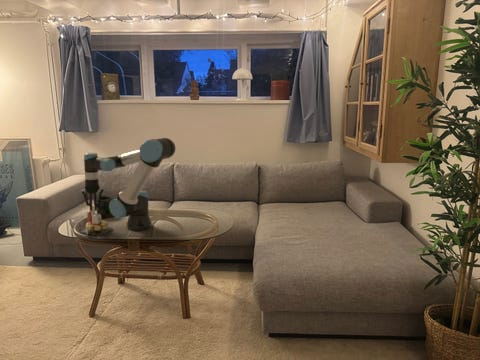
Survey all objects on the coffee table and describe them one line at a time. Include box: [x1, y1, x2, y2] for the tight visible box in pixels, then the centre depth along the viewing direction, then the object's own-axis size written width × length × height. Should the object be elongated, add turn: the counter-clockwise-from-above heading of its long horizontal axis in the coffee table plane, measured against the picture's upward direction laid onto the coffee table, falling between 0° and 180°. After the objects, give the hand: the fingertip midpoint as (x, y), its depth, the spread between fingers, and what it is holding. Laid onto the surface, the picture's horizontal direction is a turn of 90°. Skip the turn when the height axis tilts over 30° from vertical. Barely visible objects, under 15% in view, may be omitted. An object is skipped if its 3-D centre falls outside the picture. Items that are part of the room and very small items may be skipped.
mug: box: [96, 195, 113, 218], centre depth 253 cm, size 11×15×12 cm
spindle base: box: [80, 213, 114, 237], centre depth 221 cm, size 13×15×10 cm
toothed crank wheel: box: [85, 211, 109, 231], centre depth 223 cm, size 16×12×8 cm
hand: (93, 215), depth 229 cm, fingers closed
